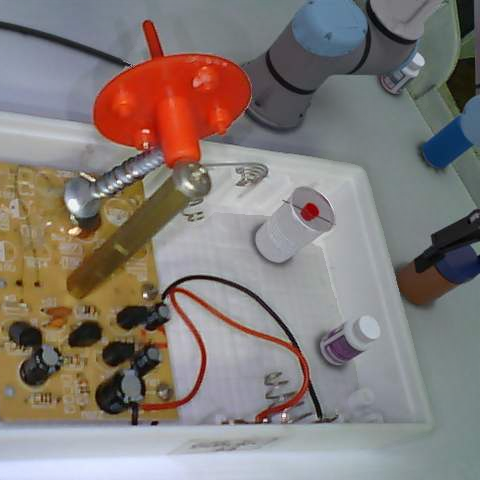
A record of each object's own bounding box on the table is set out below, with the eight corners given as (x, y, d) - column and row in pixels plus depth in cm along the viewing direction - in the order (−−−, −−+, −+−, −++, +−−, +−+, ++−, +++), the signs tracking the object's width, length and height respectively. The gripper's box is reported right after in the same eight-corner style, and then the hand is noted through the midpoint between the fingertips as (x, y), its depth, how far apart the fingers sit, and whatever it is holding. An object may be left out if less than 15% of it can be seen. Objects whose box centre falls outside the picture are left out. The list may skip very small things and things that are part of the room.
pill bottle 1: (349, 367, 128) (387, 345, 120) (322, 364, 125) (359, 342, 118) (342, 336, 130) (380, 313, 123) (316, 333, 128) (352, 309, 121)
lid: (431, 234, 138) (440, 228, 136) (468, 251, 140) (478, 245, 138) (434, 274, 133) (443, 268, 131) (472, 290, 135) (482, 284, 134)
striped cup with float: (299, 235, 137) (340, 200, 128) (295, 275, 132) (338, 242, 123) (250, 213, 135) (288, 176, 125) (244, 253, 130) (284, 217, 120)
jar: (402, 303, 140) (446, 276, 132) (392, 264, 144) (434, 235, 136) (436, 308, 144) (481, 282, 135) (425, 269, 147) (468, 241, 139)
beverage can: (445, 154, 168) (487, 121, 159) (443, 175, 164) (486, 142, 155) (421, 139, 167) (462, 105, 158) (418, 160, 163) (460, 126, 154)
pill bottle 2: (398, 80, 174) (426, 54, 167) (400, 97, 171) (429, 71, 164) (379, 71, 173) (406, 44, 166) (381, 89, 170) (408, 62, 163)
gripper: (581, 205, 128) (477, 267, 145) (481, 169, 120) (385, 239, 138) (593, 244, 124) (485, 304, 141) (491, 209, 116) (391, 277, 134)
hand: (436, 272), depth 139 cm, fingers closed on lid, 8 cm apart
